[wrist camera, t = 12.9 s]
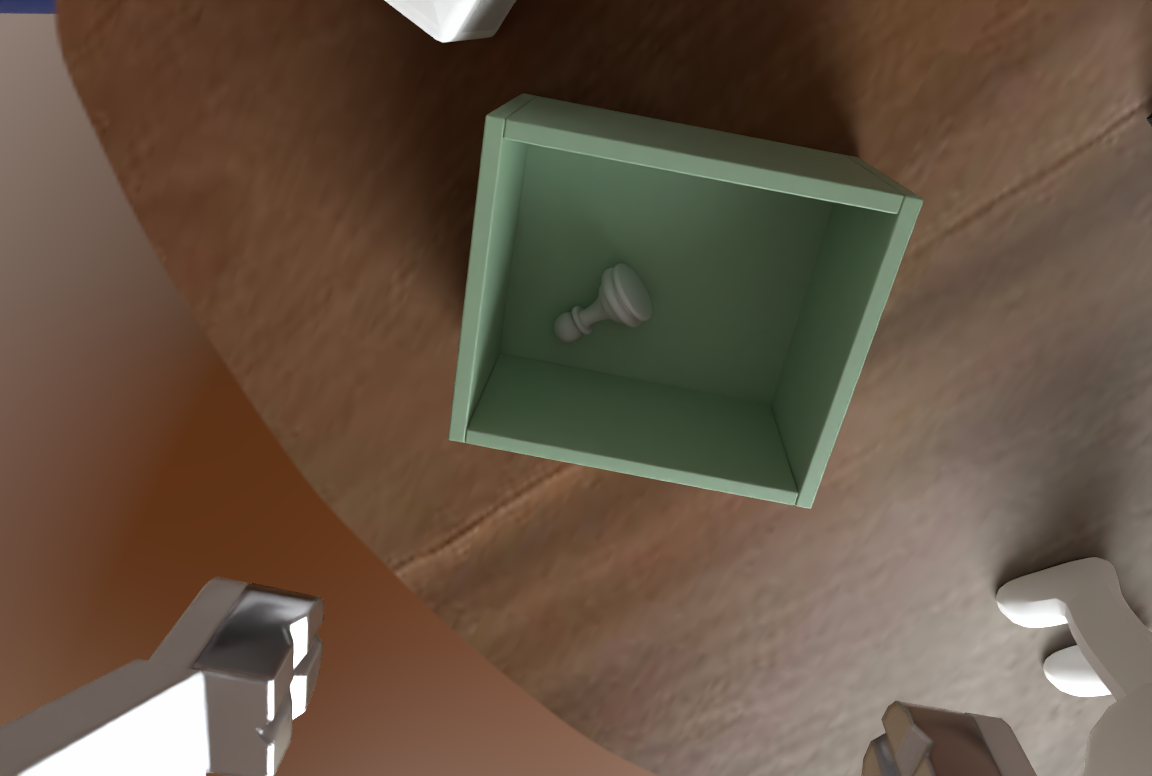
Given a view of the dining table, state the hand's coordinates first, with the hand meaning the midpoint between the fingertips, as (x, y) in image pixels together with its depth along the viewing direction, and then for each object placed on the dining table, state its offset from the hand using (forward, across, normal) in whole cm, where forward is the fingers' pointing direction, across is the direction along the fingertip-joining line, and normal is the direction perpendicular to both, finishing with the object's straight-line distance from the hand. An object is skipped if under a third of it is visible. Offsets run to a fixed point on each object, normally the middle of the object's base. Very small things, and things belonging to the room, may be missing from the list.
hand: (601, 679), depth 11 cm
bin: (+23, -2, 0) cm, 23 cm away
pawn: (+21, -1, +1) cm, 21 cm away
